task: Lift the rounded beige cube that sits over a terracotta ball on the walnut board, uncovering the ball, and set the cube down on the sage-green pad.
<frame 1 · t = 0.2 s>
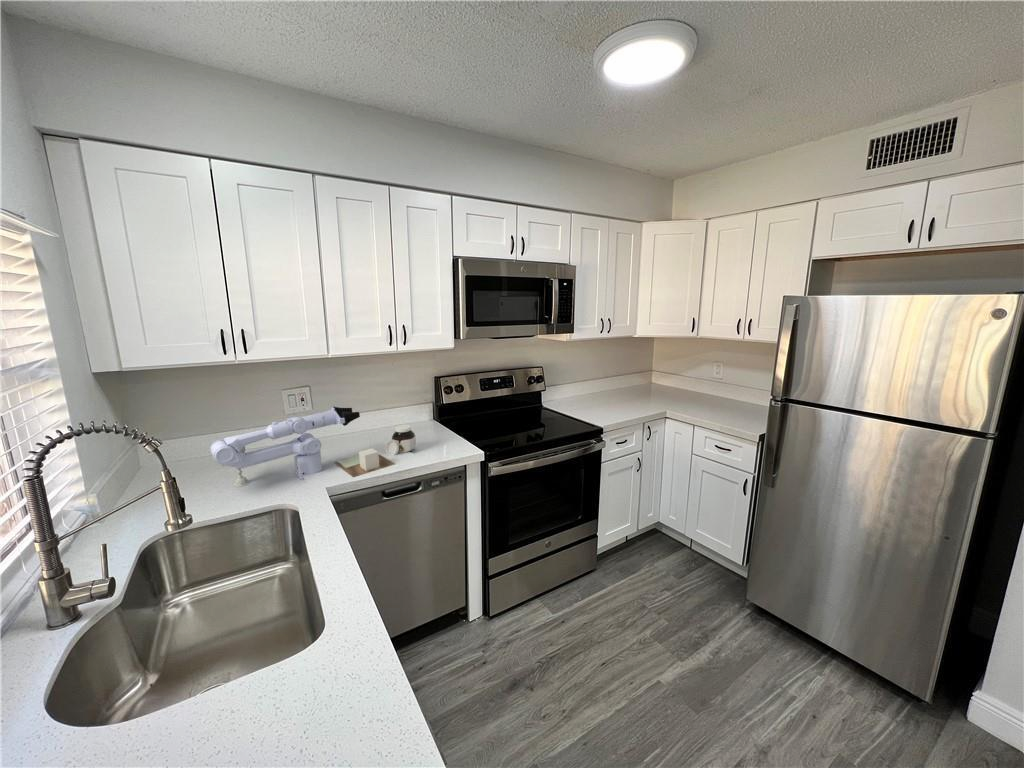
hand: (355, 412, 175), 21 cm above the worktop, tool horizontal, fingers open, 7 cm apart
spread jar: (401, 453, 187), on the worktop
sage pad: (352, 462, 175), resting on walnut board
terracotta ball: (369, 463, 169), point 2 cm above the worktop, touching walnut board
walnut board: (364, 465, 173), on the worktop
chalice: (241, 484, 158), on the worktop
rounded beige cube: (369, 466, 170), point 1 cm above the worktop, touching walnut board
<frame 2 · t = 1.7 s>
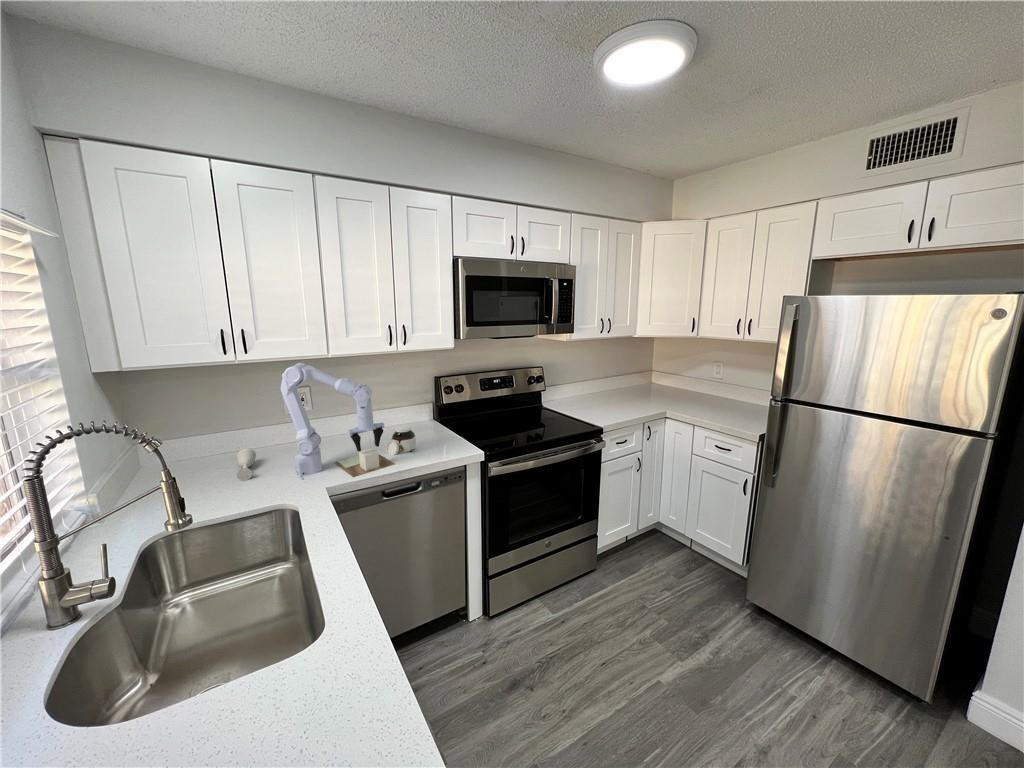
hand: (368, 448, 168), 9 cm above the worktop, tool pointing down, fingers open, 7 cm apart
chalice: (244, 474, 160), point 3 cm above the worktop
everything else where it was.
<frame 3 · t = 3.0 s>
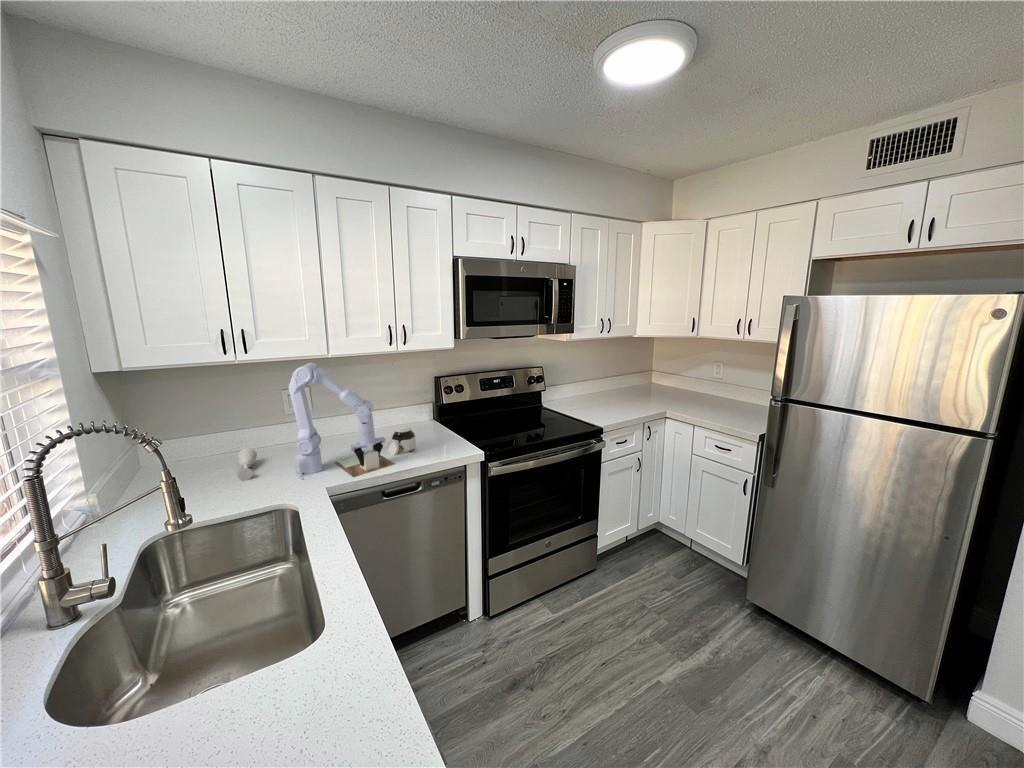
hand: (369, 463, 169), 3 cm above the worktop, tool pointing down, fingers closed on rounded beige cube, 6 cm apart
rounded beige cube: (369, 466, 170), point 1 cm above the worktop, touching gripper, walnut board
everything else where it was.
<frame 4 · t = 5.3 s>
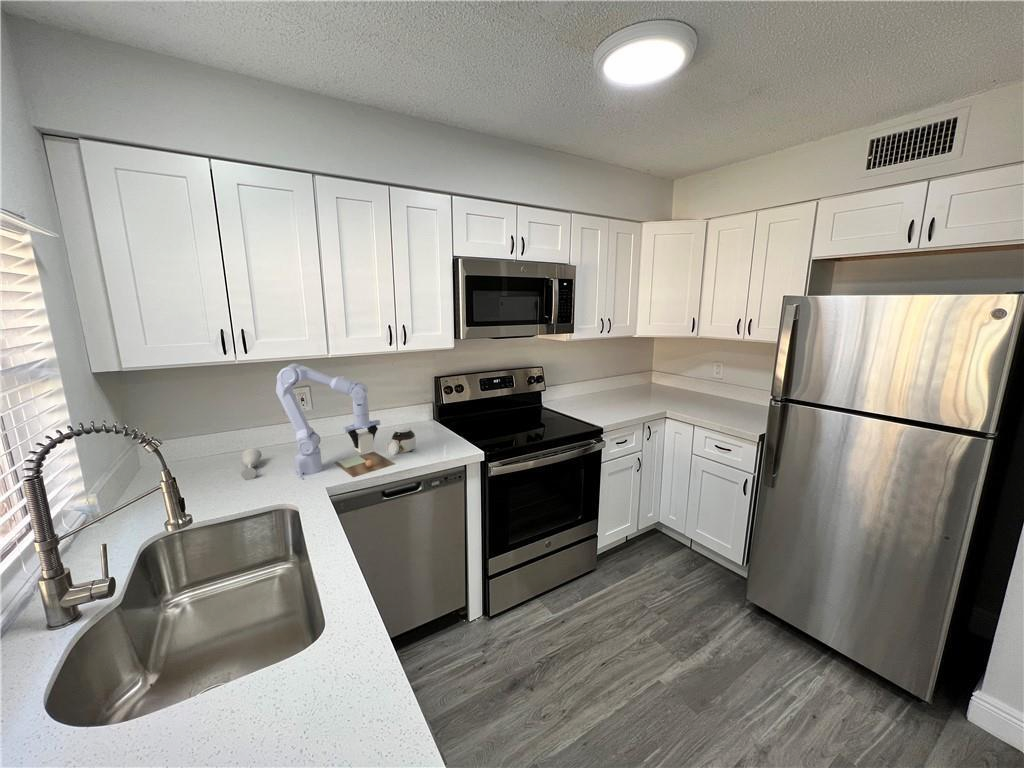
hand: (364, 445, 169), 10 cm above the worktop, tool pointing down, fingers closed on rounded beige cube, 6 cm apart
chalice: (248, 473, 161), point 3 cm above the worktop
rounded beige cube: (364, 449, 169), point 8 cm above the worktop, touching gripper
everything else where it was.
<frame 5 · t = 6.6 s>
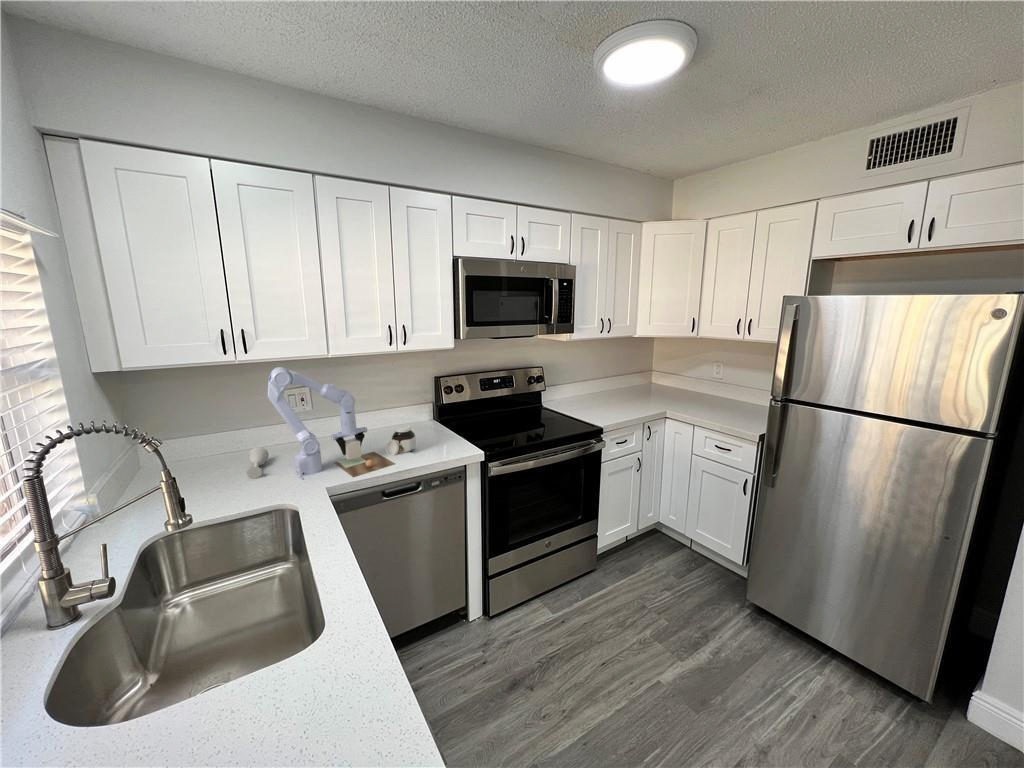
hand: (351, 452, 174), 5 cm above the worktop, tool pointing down, fingers closed on rounded beige cube, 6 cm apart
chalice: (254, 472, 162), point 3 cm above the worktop
rounded beige cube: (352, 456, 174), point 4 cm above the worktop, touching gripper
everything else where it was.
when the fingers open (4 cm above the worktop, at t = 7.8 s): rounded beige cube drops 1 cm, resting on sage pad.
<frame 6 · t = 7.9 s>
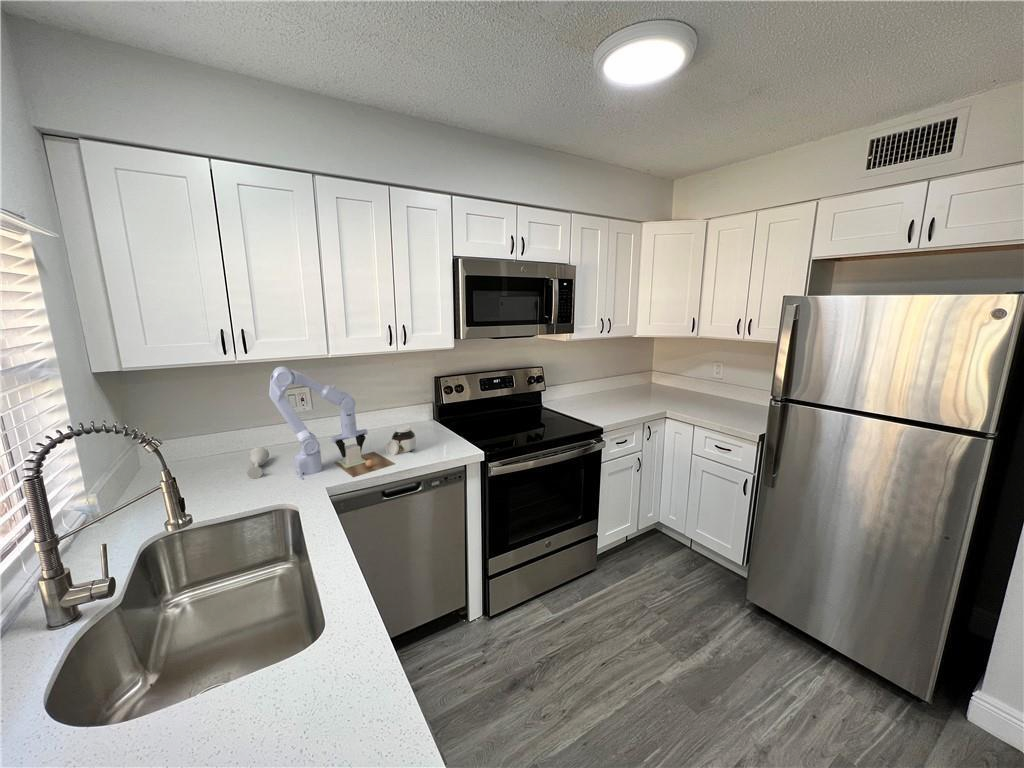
hand: (351, 454, 174), 4 cm above the worktop, tool pointing down, fingers open, 6 cm apart
rounded beige cube: (352, 461, 175), point 1 cm above the worktop, touching sage pad
everything else where it was.
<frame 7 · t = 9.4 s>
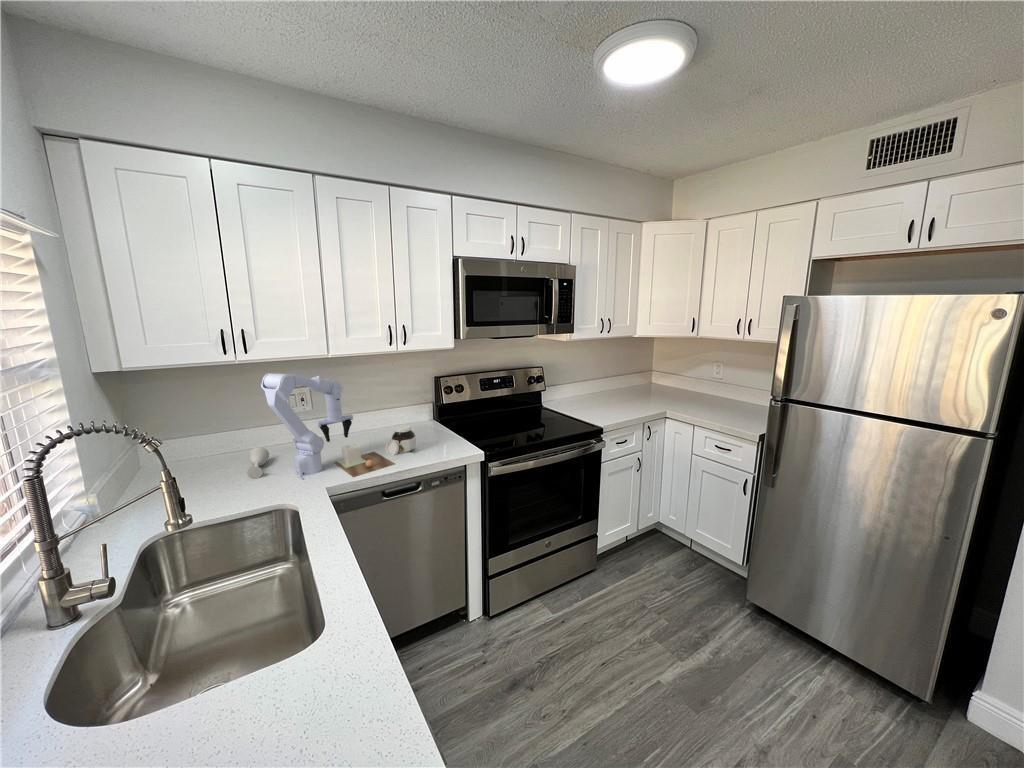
hand: (337, 439, 178), 9 cm above the worktop, tool pointing down, fingers open, 7 cm apart
nothing on the worktop moved.
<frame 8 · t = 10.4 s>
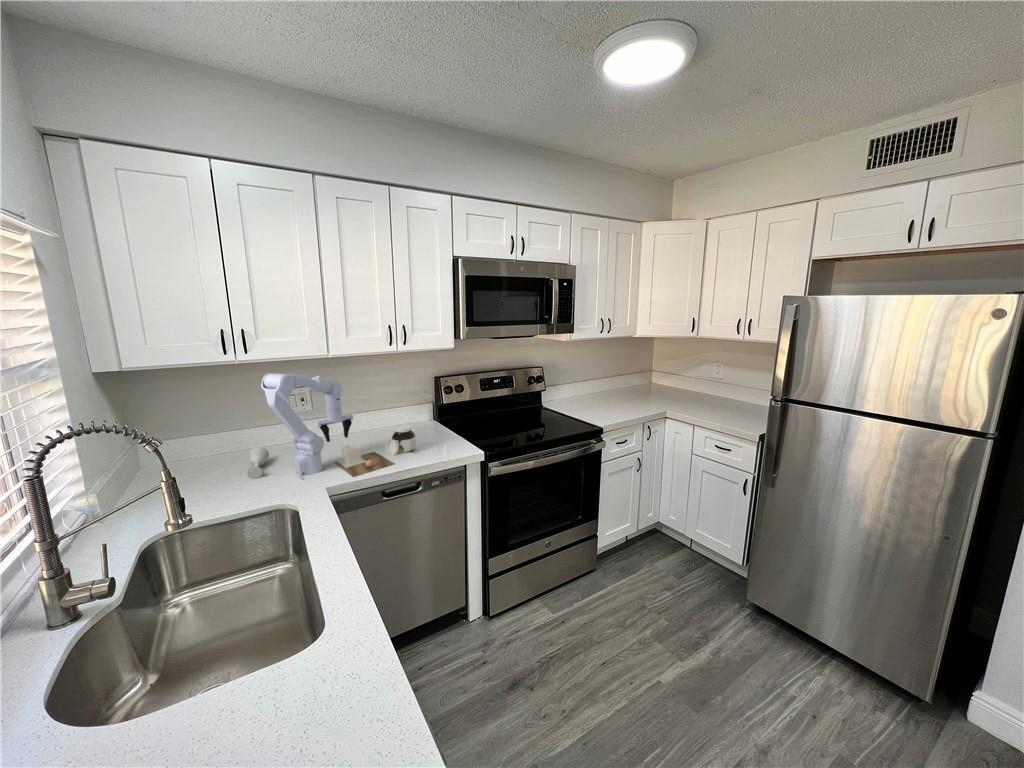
hand: (337, 439, 178), 9 cm above the worktop, tool pointing down, fingers open, 7 cm apart
nothing on the worktop moved.
at the end: rounded beige cube 0.1 cm off-centre on the sage pad, point 0.3 cm above the sage pad's base; rounded beige cube tilted 0°; the gripper is holding nothing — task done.
